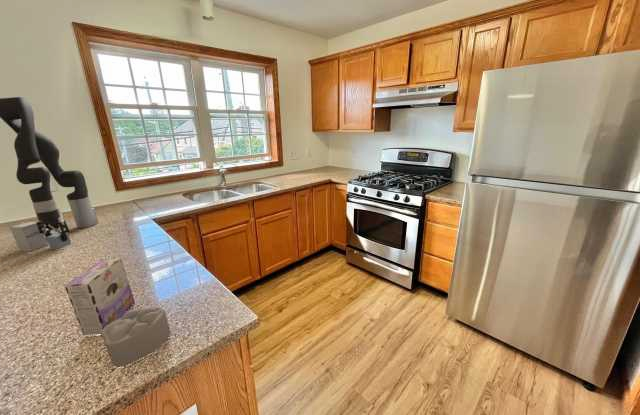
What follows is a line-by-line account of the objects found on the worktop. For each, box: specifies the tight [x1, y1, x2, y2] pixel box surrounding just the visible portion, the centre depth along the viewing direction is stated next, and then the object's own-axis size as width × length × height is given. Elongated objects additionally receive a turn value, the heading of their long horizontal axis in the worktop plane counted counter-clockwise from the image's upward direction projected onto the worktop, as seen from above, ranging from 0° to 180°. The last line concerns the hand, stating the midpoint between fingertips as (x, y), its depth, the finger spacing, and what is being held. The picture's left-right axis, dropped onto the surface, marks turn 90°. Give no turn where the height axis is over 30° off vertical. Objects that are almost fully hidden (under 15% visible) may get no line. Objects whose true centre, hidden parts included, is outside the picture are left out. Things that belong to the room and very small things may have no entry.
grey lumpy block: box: [101, 306, 171, 367], centre depth 66 cm, size 10×13×9 cm
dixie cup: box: [57, 207, 64, 221], centre depth 159 cm, size 8×8×10 cm
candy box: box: [64, 257, 136, 336], centre depth 75 cm, size 14×6×16 cm, turn 5°
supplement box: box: [9, 221, 48, 252], centre depth 128 cm, size 7×7×13 cm
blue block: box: [45, 232, 72, 249], centre depth 130 cm, size 6×6×6 cm
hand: (57, 240), depth 130 cm, fingers open, 8 cm apart
